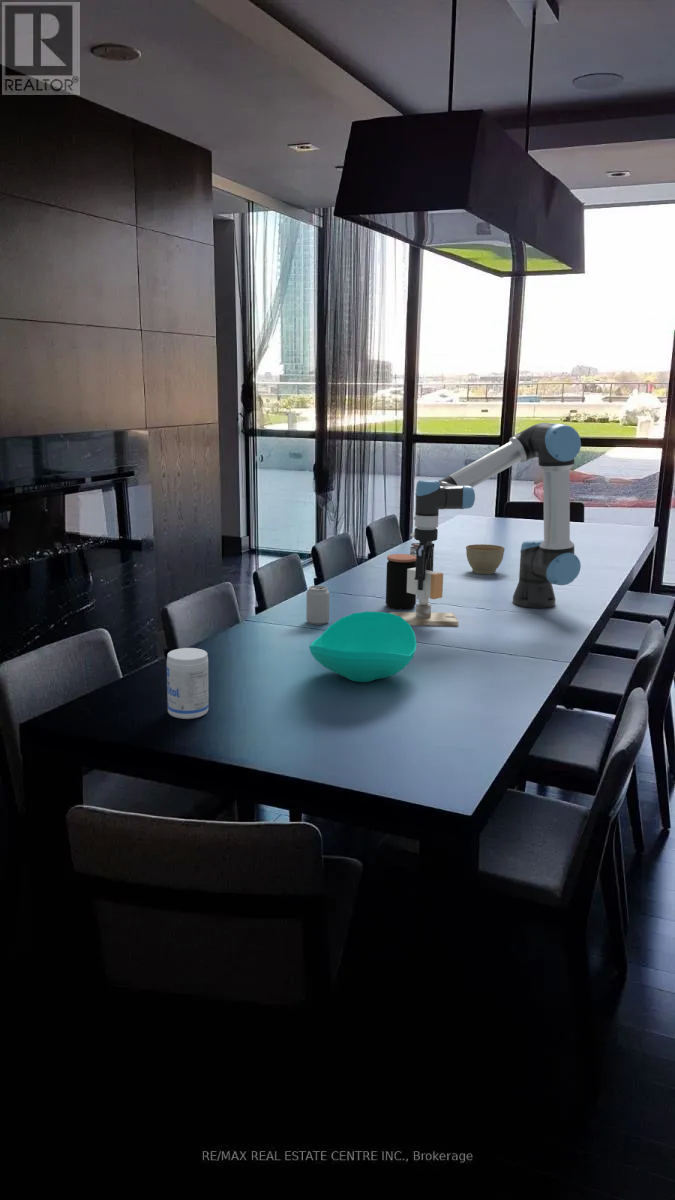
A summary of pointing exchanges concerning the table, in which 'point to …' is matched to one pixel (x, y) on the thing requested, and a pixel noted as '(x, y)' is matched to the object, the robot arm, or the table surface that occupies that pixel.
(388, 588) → the coffee jar
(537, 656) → the table surface
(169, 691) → the supplement tub
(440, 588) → the orange-capped white bar
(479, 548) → the planter bowl
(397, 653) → the table top decor
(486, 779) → the table surface
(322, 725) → the table surface
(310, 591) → the can
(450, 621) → the lock board
